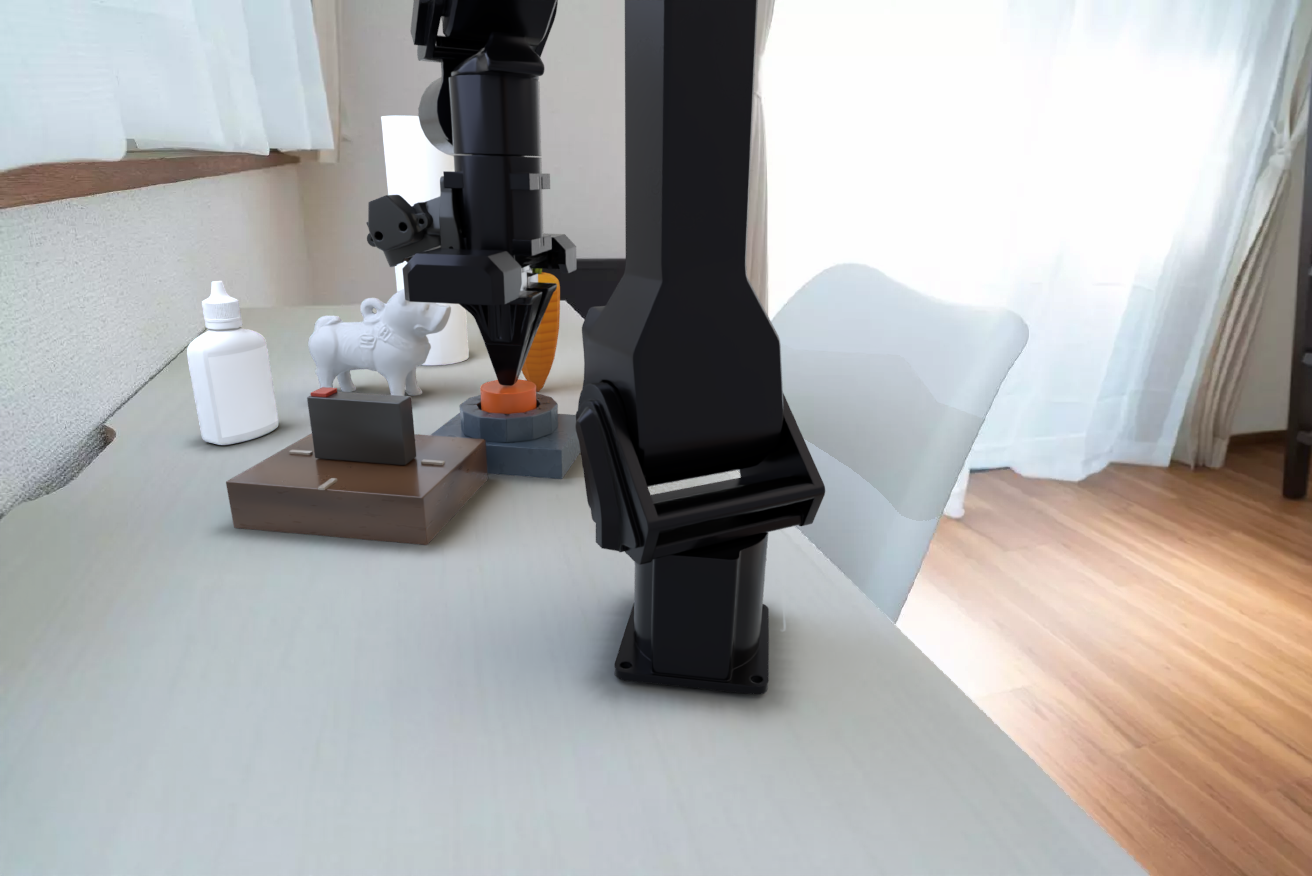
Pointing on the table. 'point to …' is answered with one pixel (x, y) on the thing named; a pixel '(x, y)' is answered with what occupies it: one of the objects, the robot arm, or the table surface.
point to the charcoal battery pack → (362, 426)
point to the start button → (508, 397)
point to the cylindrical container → (415, 180)
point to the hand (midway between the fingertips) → (507, 384)
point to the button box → (520, 438)
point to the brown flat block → (360, 492)
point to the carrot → (544, 337)
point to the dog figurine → (377, 343)
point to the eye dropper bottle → (231, 375)
